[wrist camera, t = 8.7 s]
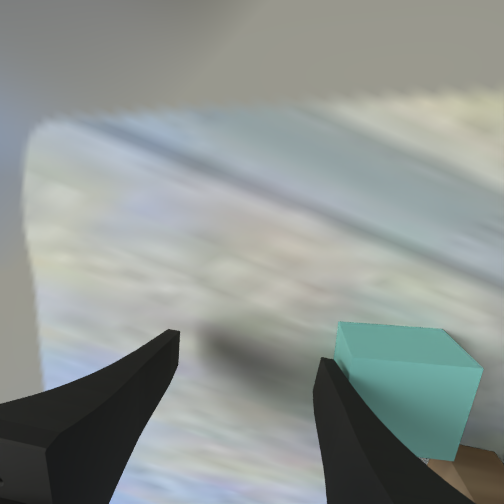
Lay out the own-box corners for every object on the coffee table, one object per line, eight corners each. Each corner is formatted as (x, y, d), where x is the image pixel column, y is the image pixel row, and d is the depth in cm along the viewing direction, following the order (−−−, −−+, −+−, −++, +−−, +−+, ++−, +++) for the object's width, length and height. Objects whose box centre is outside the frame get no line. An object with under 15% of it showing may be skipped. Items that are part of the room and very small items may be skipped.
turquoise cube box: (419, 405, 14) (453, 461, 12) (328, 395, 15) (339, 447, 12) (439, 326, 13) (483, 368, 10) (337, 319, 14) (352, 357, 11)
